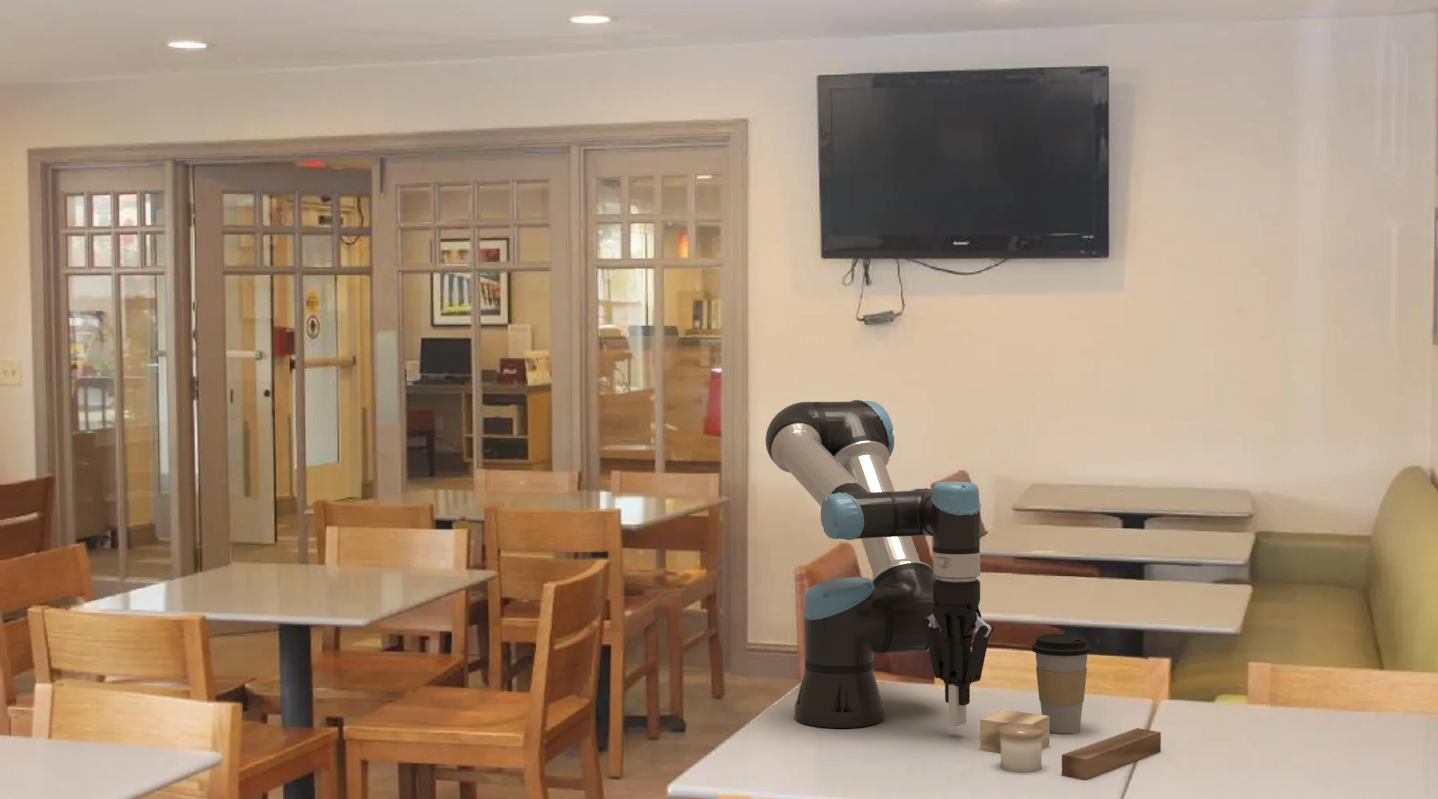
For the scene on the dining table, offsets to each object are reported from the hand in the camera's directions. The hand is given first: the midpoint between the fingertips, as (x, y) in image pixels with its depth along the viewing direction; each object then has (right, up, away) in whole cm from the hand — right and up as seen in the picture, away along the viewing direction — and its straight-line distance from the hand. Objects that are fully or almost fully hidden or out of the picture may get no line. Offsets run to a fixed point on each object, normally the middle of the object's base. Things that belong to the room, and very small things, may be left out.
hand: (957, 724), depth 260 cm
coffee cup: (+18, -2, +4) cm, 18 cm away
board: (+21, -2, -17) cm, 27 cm away
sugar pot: (+7, -3, -19) cm, 20 cm away
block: (+8, -3, -7) cm, 11 cm away
